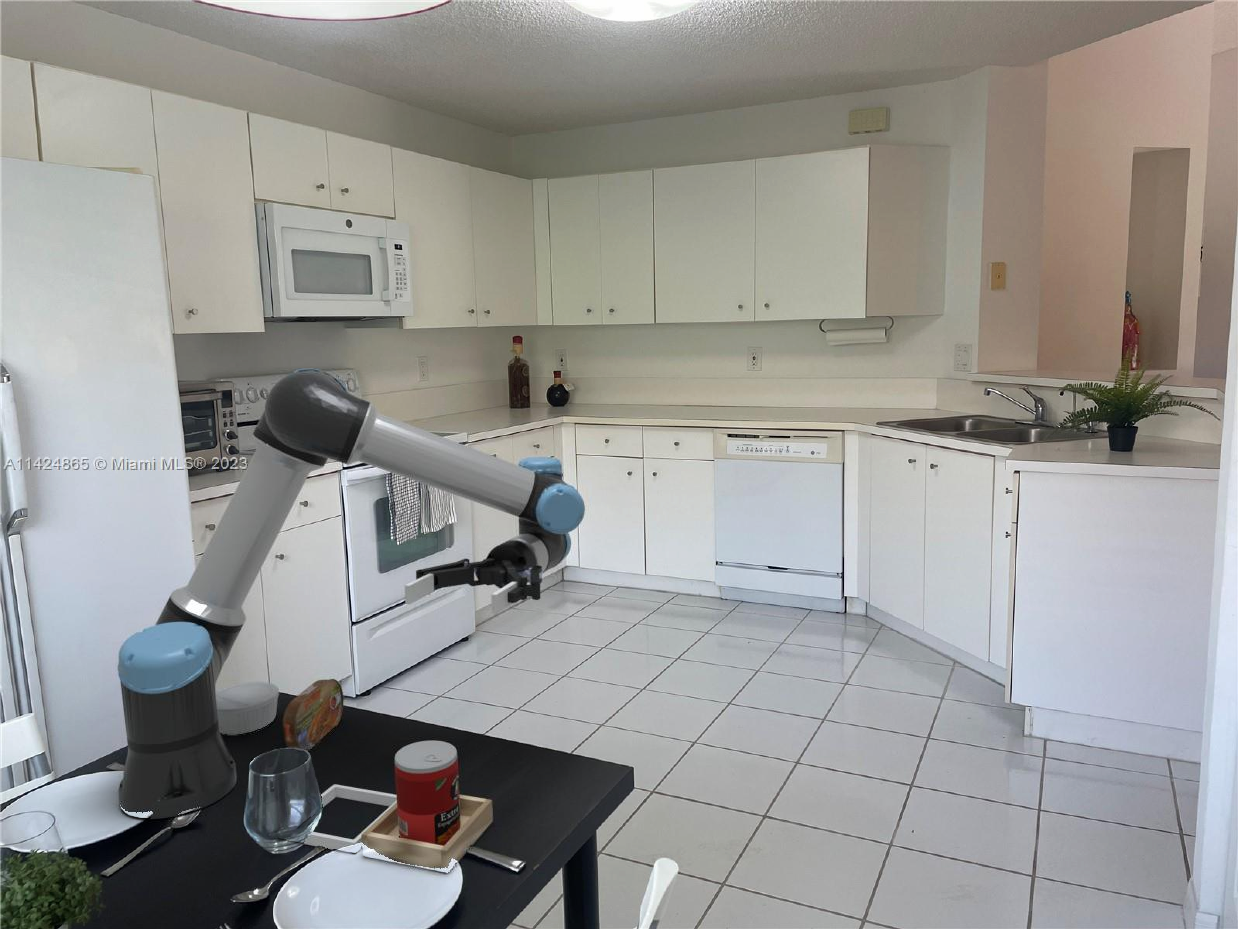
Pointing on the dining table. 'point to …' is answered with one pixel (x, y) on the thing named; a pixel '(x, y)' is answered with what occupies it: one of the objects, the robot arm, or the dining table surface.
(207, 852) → the dining table surface
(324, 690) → the tin
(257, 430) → the robot arm
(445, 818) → the canned food
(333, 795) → the grey plastic frame
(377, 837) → the tray
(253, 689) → the ramekin
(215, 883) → the dining table surface
